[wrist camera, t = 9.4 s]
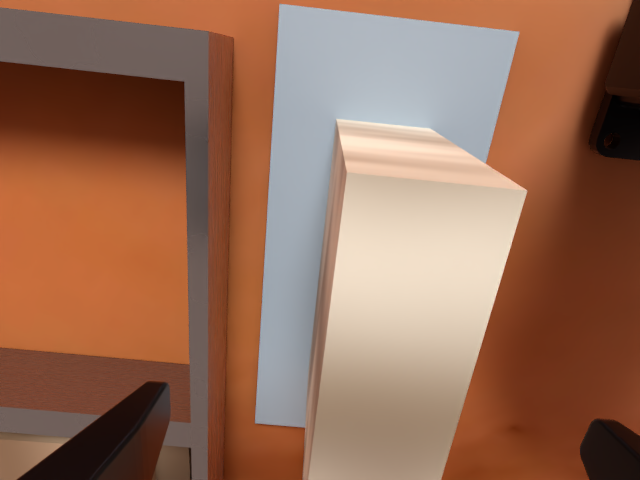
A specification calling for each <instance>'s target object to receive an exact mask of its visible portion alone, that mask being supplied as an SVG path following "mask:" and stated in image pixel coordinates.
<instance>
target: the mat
mask: <svg viewBox="0 0 640 480" xmlns="http://www.w3.org/2000/svg"><path fill="white" fill-rule="evenodd" d="M518 36H519V32H517V31H508V30H500V29H491V28H482V27H474V26H465V25H457V24H448V23H440V22H431V21H422V20H414V19H405V18H397V17H388V16H380V15H371V14H362V13H354V12H345V11H337V10H328V9H320V8H311V7H302V6H294V5H285V4H280V7H279V24H278V41H277V58H276V75H275V91H274V108H273V125H272V142H271V159H270V176H269V193H268V210H267V227H266V244H265V261H264V278H263V295H262V312H261V329H260V345H259V362H258V379H257V396H256V413H255V423H257V424H269V425H280V426H292V427H304V428H305V422H306V403H307V385H308V369H309V360H310V351H311V342H312V333H313V324H314V315H315V306H316V297H317V288H318V279H319V270H320V261H321V252H322V243H323V234H324V225H325V216H326V207H327V198H328V189H329V180H330V171H331V162H332V153H333V144H334V135H335V126H336V119H343V120H353V121H363V122H372V123H382V124H391V125H401V126H411V127H420V128H430V129H432V130H433V131H435V132H437V133H438V134H440V135H441V136H443V137H444V138H446V139H448V140H449V141H451V142H452V143H454V144H455V145H457V146H458V147H460V148H462V149H463V150H465V151H466V152H468V153H469V154H471V155H473V156H474V157H476V158H477V159H479V160H480V161H482V162H483V163H485V164H486V160H487V156H488V152H489V149H490V145H491V141H492V137H493V133H494V129H495V125H496V121H497V117H498V114H499V110H500V106H501V102H502V98H503V94H504V90H505V86H506V83H507V79H508V75H509V71H510V67H511V63H512V59H513V55H514V51H515V48H516V44H517V40H518Z"/></svg>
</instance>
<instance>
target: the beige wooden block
mask: <svg viewBox="0 0 640 480" xmlns="http://www.w3.org/2000/svg"><path fill="white" fill-rule="evenodd" d="M526 194H527V190H526V189H524V188H522V187H521V186H519V185H518V184H516V183H515V182H513V181H512V180H510V179H508V178H507V177H505V176H504V175H502V174H501V173H499V172H498V171H496V170H494V169H493V168H491V167H490V166H488V165H487V164H485V163H483V162H482V161H480V160H479V159H477V158H476V157H474V156H473V155H471V154H469V153H468V152H466V151H465V150H463V149H462V148H460V147H458V146H457V145H455V144H454V143H452V142H451V141H449V140H448V139H446V138H444V137H443V136H441V135H440V134H438V133H437V132H435V131H433V130H432V129H430V128H420V127H411V126H401V125H391V124H382V123H372V122H363V121H353V120H343V119H336V126H335V135H334V144H333V153H332V162H331V171H330V180H329V189H328V198H327V207H326V216H325V225H324V234H323V243H322V252H321V261H320V270H319V279H318V288H317V297H316V306H315V315H314V324H313V333H312V342H311V351H310V360H309V369H308V385H307V403H306V422H305V441H304V460H303V478H302V480H441V478H442V475H443V471H444V468H445V465H446V461H447V458H448V454H449V451H450V448H451V444H452V441H453V438H454V434H455V431H456V428H457V424H458V421H459V418H460V414H461V411H462V408H463V404H464V401H465V398H466V394H467V391H468V388H469V384H470V381H471V378H472V374H473V371H474V368H475V364H476V361H477V358H478V354H479V351H480V348H481V344H482V341H483V337H484V334H485V331H486V327H487V324H488V321H489V317H490V314H491V311H492V307H493V304H494V301H495V297H496V294H497V291H498V287H499V284H500V281H501V277H502V274H503V271H504V267H505V264H506V261H507V257H508V254H509V251H510V247H511V244H512V241H513V237H514V234H515V231H516V227H517V224H518V220H519V217H520V214H521V210H522V207H523V204H524V200H525V197H526Z"/></svg>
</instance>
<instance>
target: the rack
mask: <svg viewBox="0 0 640 480" xmlns="http://www.w3.org/2000/svg"><path fill="white" fill-rule="evenodd" d="M0 61H2V62H12V63H21V64H30V65H39V66H48V67H57V68H66V69H75V70H84V71H93V72H102V73H111V74H120V75H129V76H138V77H148V78H157V79H166V80H175V81H184V87H185V141H186V194H187V248H188V302H189V355H190V365H185V364H174V363H163V362H152V361H141V360H130V359H119V358H108V357H96V356H85V355H74V354H63V353H52V352H41V351H30V350H19V349H8V348H0V432H11V433H23V434H35V435H46V436H58V437H70V438H72V437H74V436H75V435H76V434H78V433H79V432H80V431H82V430H83V429H84V428H85V427H87V426H88V425H89V424H91V423H92V422H93V421H95V420H96V419H97V418H99V417H100V416H101V415H103V414H104V413H105V412H107V411H108V410H109V409H111V408H112V407H113V406H115V405H116V404H117V403H119V402H120V401H121V400H123V399H124V398H125V397H127V396H128V395H129V394H131V393H132V392H133V391H135V390H136V389H137V388H139V387H140V386H141V385H143V384H144V383H145V382H147V381H150V380H154V381H165V382H167V383H169V386H170V404H171V416H170V422H169V426H168V429H167V432H166V435H165V439H164V442H163V445H165V446H177V447H189V448H191V462H192V480H223V475H224V430H225V385H226V341H227V296H228V251H229V207H230V162H231V118H232V73H233V37H229V36H225V35H221V34H217V33H213V32H209V31H201V30H193V29H184V28H175V27H166V26H158V25H149V24H140V23H131V22H123V21H114V20H105V19H96V18H87V17H79V16H70V15H61V14H52V13H44V12H35V11H26V10H17V9H9V8H0Z"/></svg>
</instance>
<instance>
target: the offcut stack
mask: <svg viewBox="0 0 640 480" xmlns="http://www.w3.org/2000/svg"><path fill="white" fill-rule="evenodd" d="M70 439H71V438H70V437H58V436H46V435H35V434H23V433H11V432H0V480H16V479H18V478H19V477H20V476H22V475H23V474H24V473H26V472H27V471H28V470H30V469H31V468H32V467H34V466H35V465H36V464H38V463H39V462H40V461H42V460H43V459H44V458H46V457H47V456H48V455H50V454H51V453H52V452H54V451H55V450H56V449H58V448H59V447H60V446H62V445H63V444H64V443H66V442H67V441H68V440H70ZM152 480H192V462H191V448H189V447H177V446H165V445H162V448H161V452H160V455H159V458H158V461H157V465H156V468H155V471H154V474H153V478H152Z"/></svg>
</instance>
